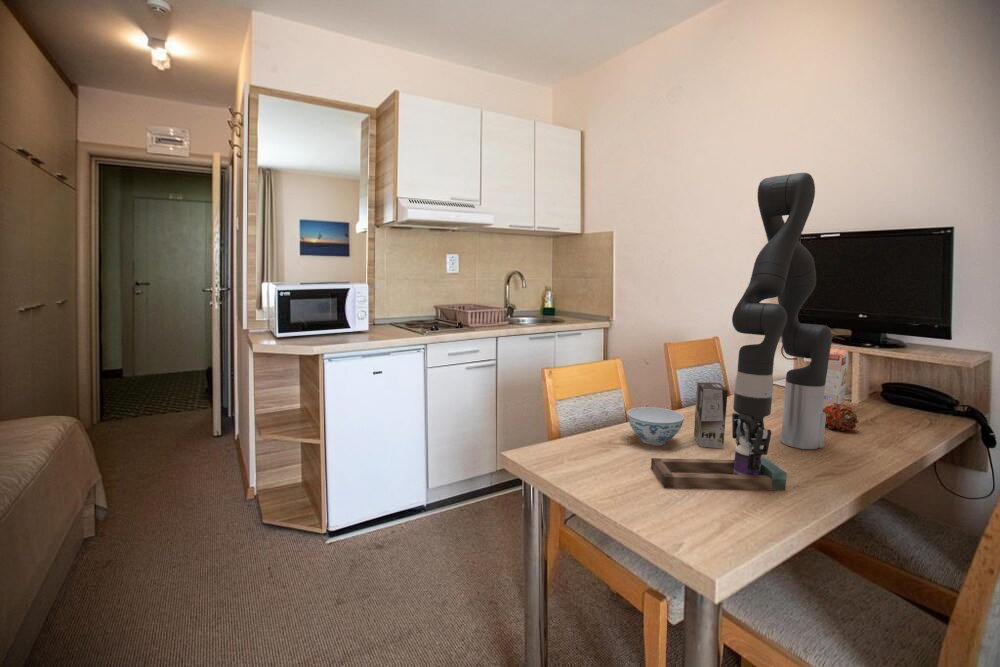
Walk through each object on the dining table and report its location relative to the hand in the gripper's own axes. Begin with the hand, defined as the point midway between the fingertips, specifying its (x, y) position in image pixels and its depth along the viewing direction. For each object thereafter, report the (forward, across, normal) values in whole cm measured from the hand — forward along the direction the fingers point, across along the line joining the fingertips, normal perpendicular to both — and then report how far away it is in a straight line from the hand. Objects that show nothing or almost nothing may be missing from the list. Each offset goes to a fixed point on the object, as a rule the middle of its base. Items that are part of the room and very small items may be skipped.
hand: (747, 464), depth 115 cm
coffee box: (+4, +25, -1) cm, 25 cm away
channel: (+4, 0, +7) cm, 8 cm away
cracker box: (+3, +60, -56) cm, 82 cm away
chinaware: (+4, +25, +14) cm, 29 cm away
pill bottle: (+4, 0, 0) cm, 4 cm away
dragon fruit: (+3, +40, -45) cm, 60 cm away
